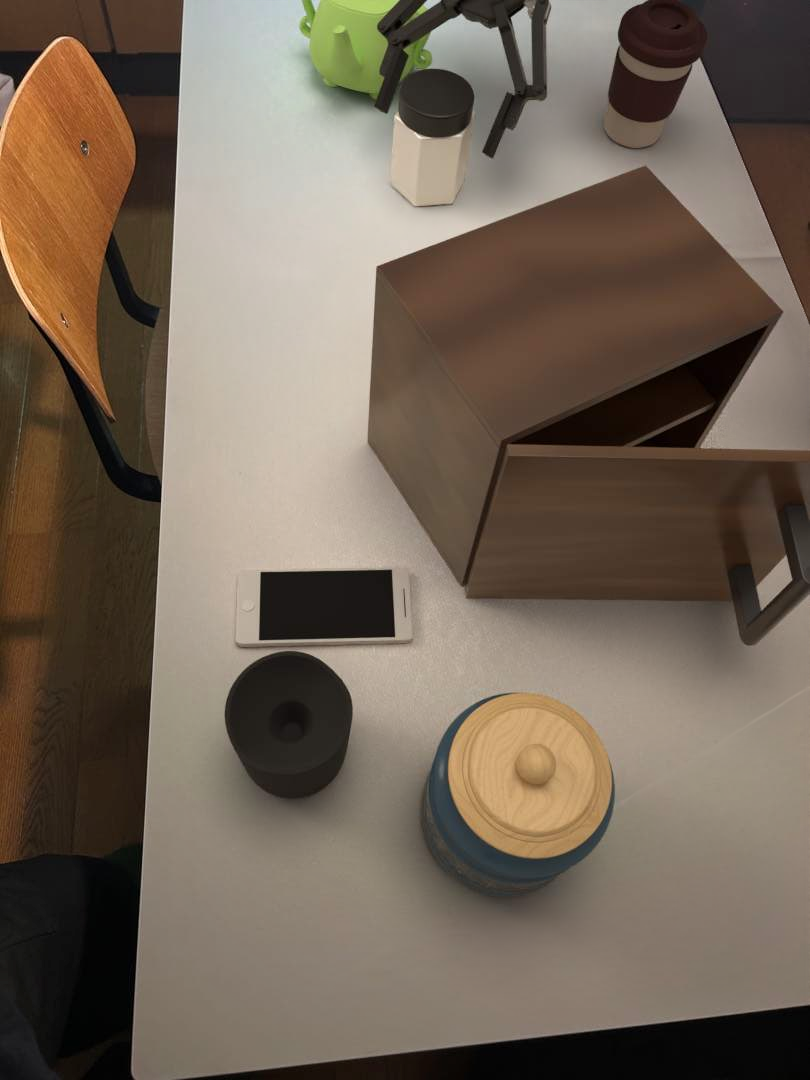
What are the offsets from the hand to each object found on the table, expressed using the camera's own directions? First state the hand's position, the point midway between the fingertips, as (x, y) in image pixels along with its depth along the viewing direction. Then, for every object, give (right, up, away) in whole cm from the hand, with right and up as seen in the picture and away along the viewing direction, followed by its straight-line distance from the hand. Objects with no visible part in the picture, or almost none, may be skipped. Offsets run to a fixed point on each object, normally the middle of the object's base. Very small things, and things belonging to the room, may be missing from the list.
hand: (433, 133), depth 105 cm
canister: (+4, -68, -28) cm, 74 cm away
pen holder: (-12, -63, -27) cm, 70 cm away
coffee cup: (+25, +6, +13) cm, 29 cm away
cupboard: (+9, -38, -12) cm, 40 cm away
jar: (-1, -4, +6) cm, 7 cm away
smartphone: (-10, -52, -21) cm, 57 cm away
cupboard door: (+15, -54, -20) cm, 59 cm away
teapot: (-9, +13, +14) cm, 21 cm away
